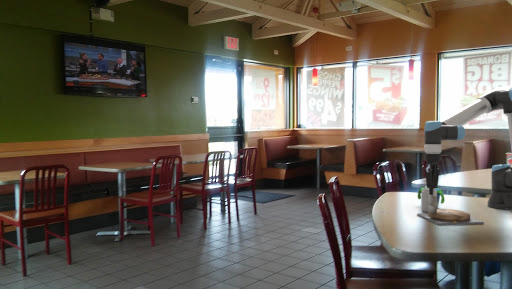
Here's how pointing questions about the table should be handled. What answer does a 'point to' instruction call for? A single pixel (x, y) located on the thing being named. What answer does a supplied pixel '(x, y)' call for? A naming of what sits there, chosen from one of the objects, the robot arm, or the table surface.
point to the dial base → (443, 222)
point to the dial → (445, 212)
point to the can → (425, 200)
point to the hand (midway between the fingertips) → (432, 201)
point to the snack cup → (437, 195)
